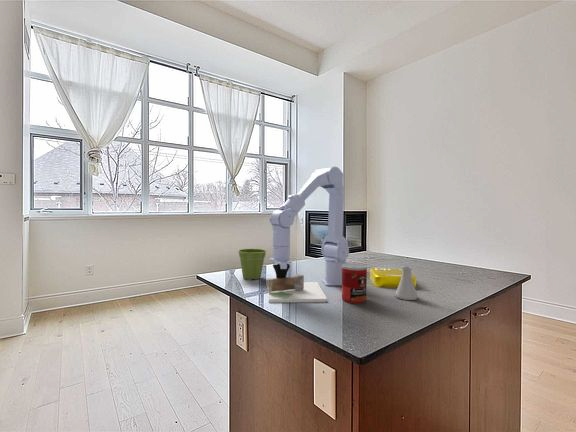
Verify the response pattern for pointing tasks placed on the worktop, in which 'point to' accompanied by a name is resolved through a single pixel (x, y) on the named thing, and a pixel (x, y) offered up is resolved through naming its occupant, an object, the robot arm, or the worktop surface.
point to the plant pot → (252, 262)
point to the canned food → (354, 283)
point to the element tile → (387, 277)
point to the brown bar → (286, 283)
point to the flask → (406, 286)
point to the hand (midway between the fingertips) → (280, 285)
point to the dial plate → (299, 294)
